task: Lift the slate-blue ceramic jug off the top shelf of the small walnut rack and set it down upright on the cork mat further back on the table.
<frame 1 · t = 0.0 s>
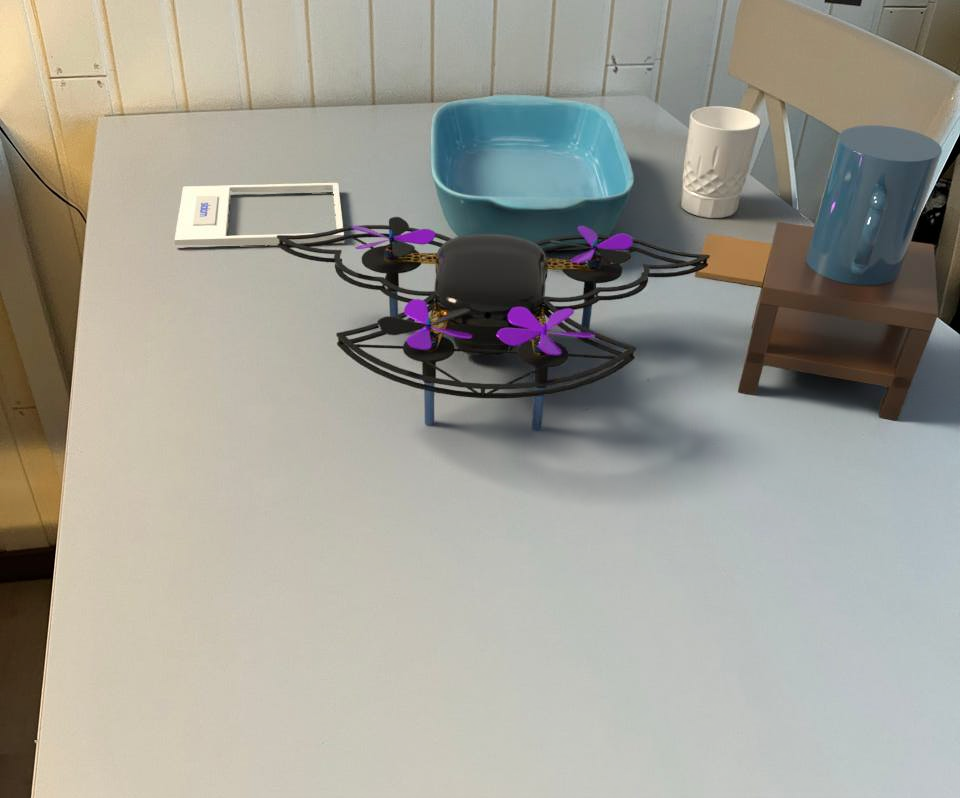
white cup: (707, 209, 119), on the table
photo frame: (262, 219, 112), on the table
cork mat: (746, 264, 108), on the table
walnut rack: (820, 367, 93), on the table
casserole dish: (524, 205, 118), on the table
drone: (485, 384, 89), on the table
jug: (852, 264, 86), point 10 cm above the table, touching walnut rack
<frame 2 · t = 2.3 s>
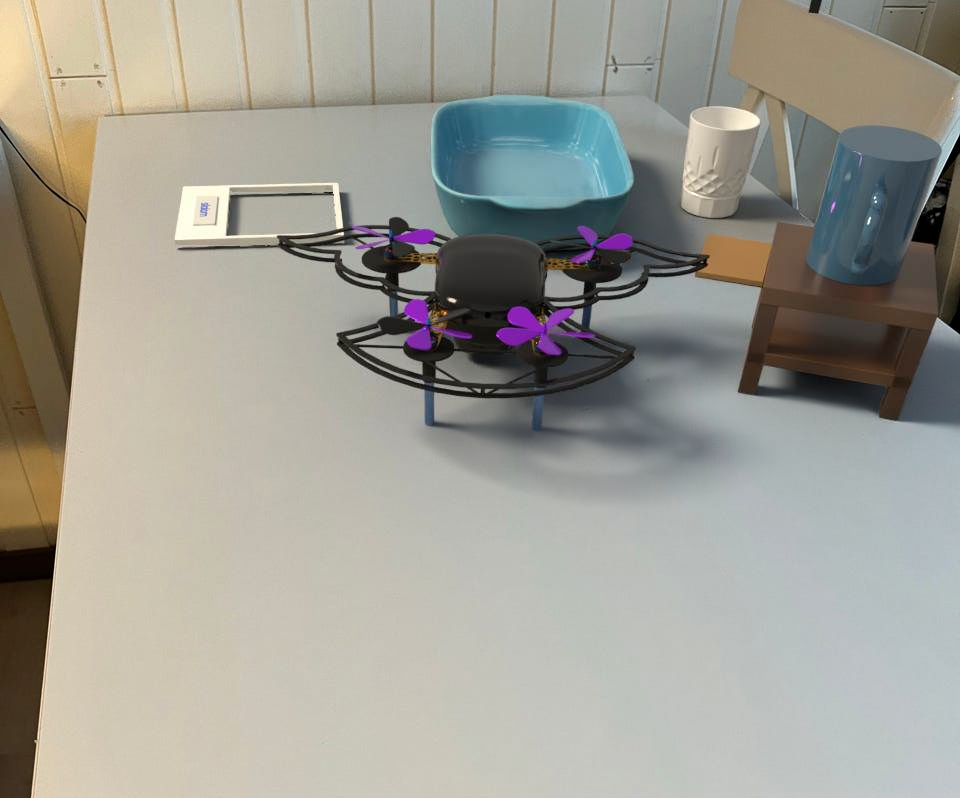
hand: (906, 19, 74), 28 cm above the table, tool pointing down, fingers open, 13 cm apart
nothing on the table moved.
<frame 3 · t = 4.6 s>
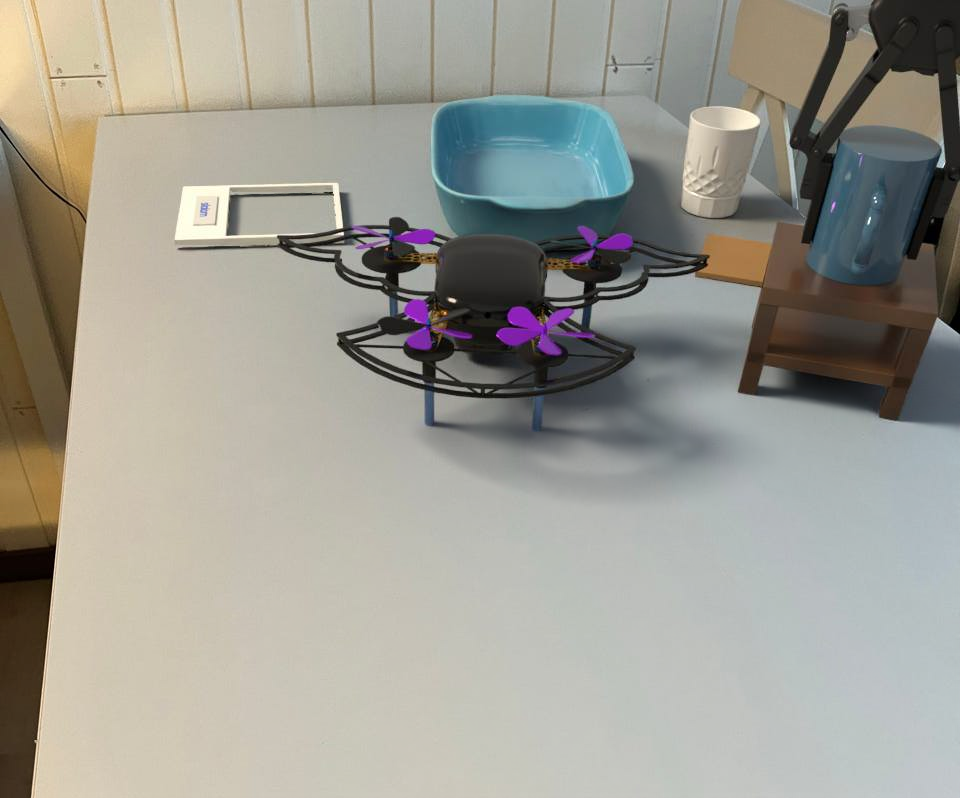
hand: (858, 244, 84), 12 cm above the table, tool pointing down, fingers closed on jug, 8 cm apart
jug: (852, 264, 86), point 10 cm above the table, touching gripper, walnut rack
everything else where it was.
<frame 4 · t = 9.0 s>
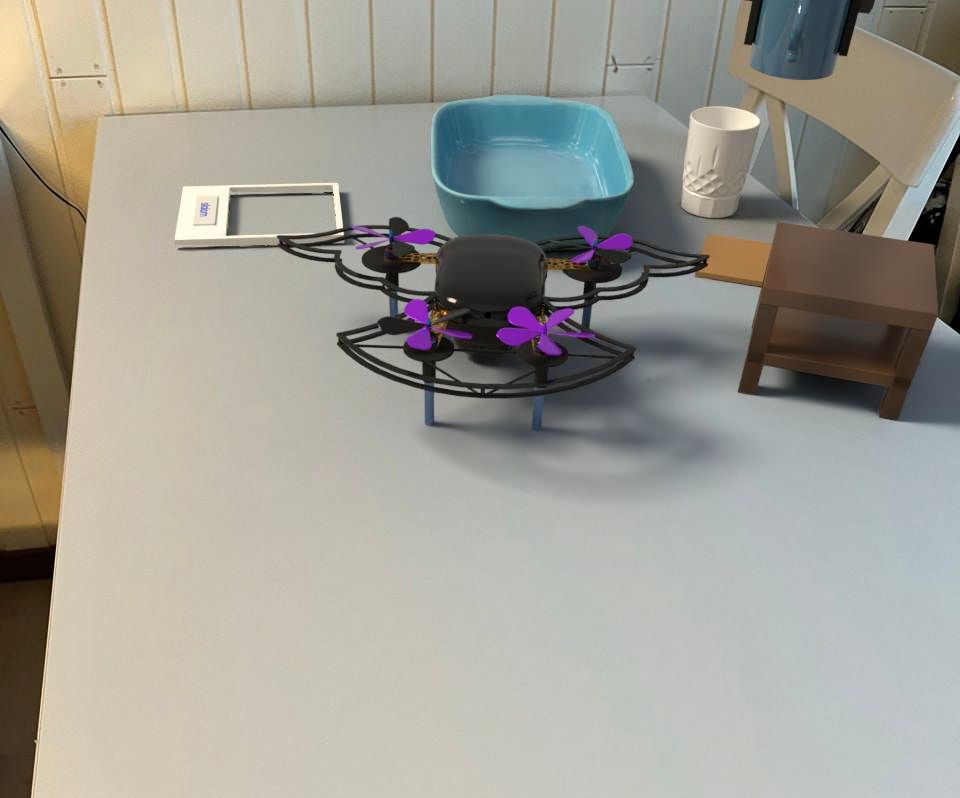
hand: (795, 46, 93), 21 cm above the table, tool pointing down, fingers closed on jug, 8 cm apart
jug: (791, 66, 94), point 19 cm above the table, touching gripper
everything else where it was.
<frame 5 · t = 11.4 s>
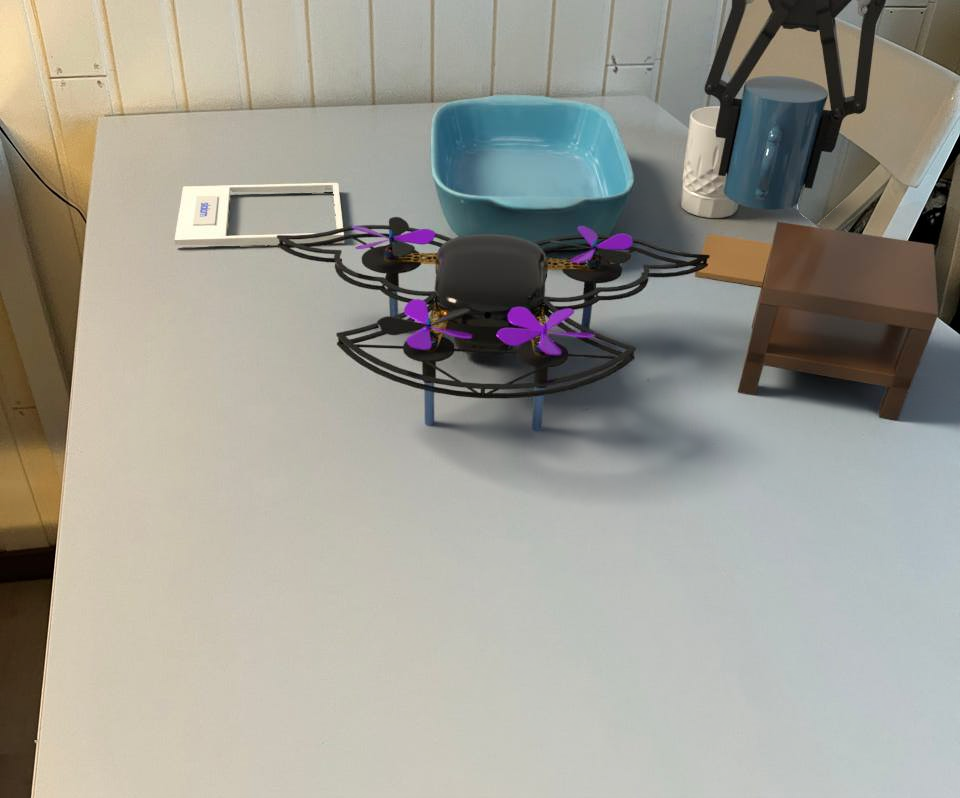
hand: (765, 176, 101), 9 cm above the table, tool pointing down, fingers closed on jug, 8 cm apart
jug: (761, 194, 103), point 7 cm above the table, touching gripper
everything else where it was.
when the fingers open (2 cm above the table, at t = 13.4 s): jug stays where it is, resting on cork mat.
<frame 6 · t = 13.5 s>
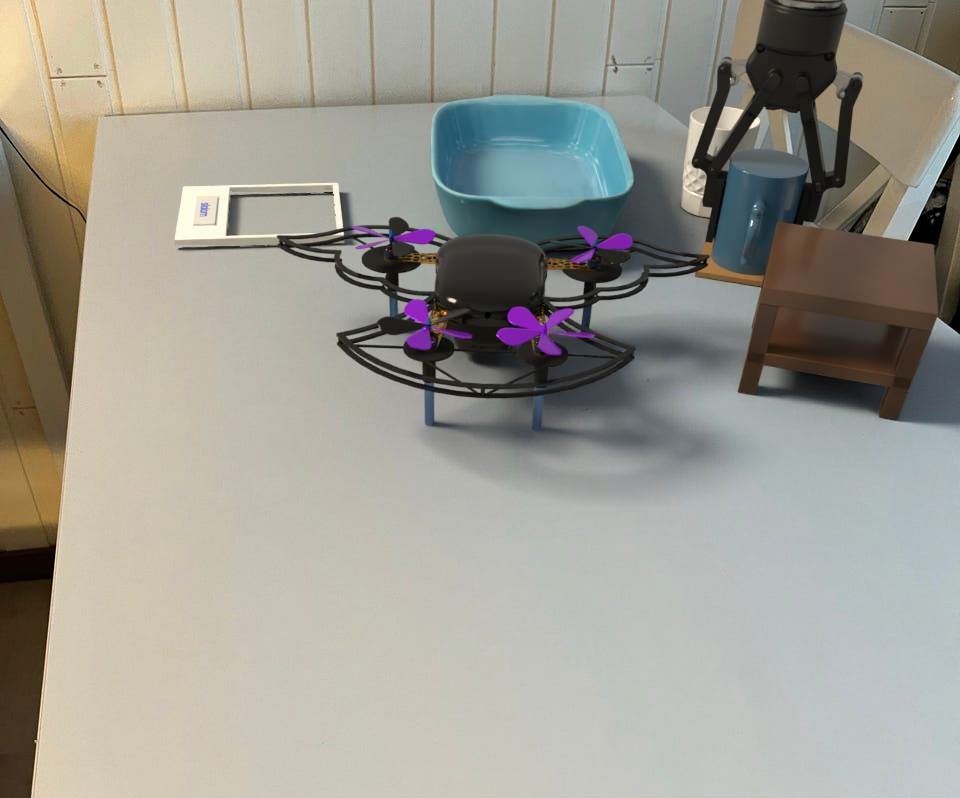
hand: (750, 243, 106), 2 cm above the table, tool pointing down, fingers open, 8 cm apart
jug: (747, 258, 108), point 1 cm above the table, touching cork mat
everything else where it was.
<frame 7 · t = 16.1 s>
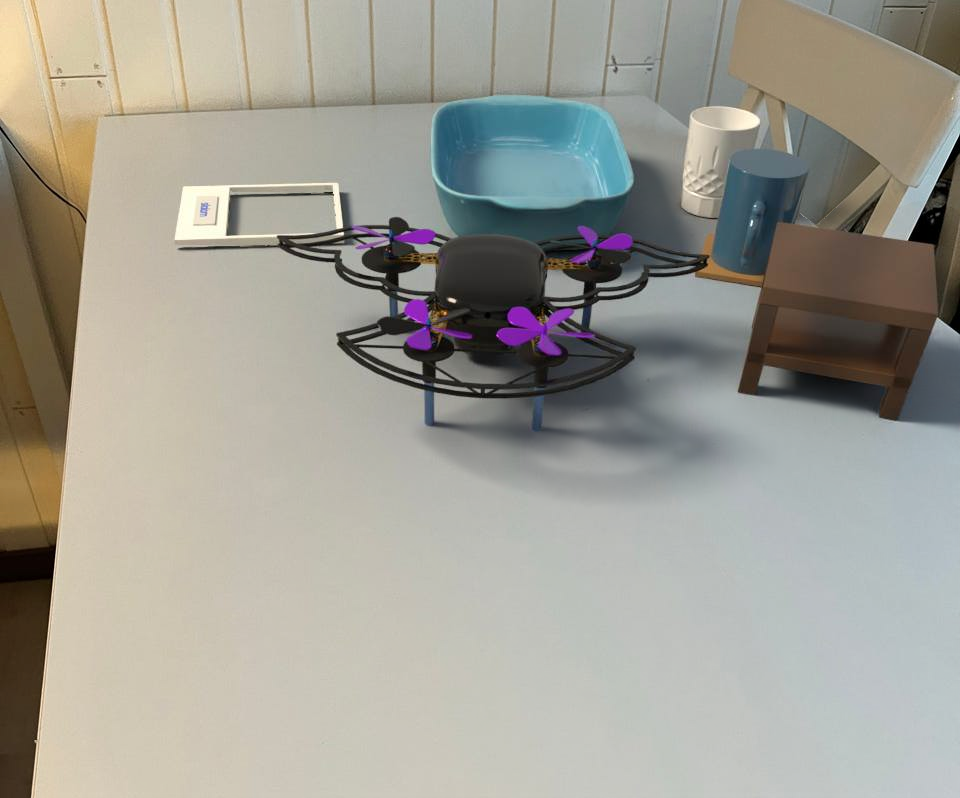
nothing on the table moved.
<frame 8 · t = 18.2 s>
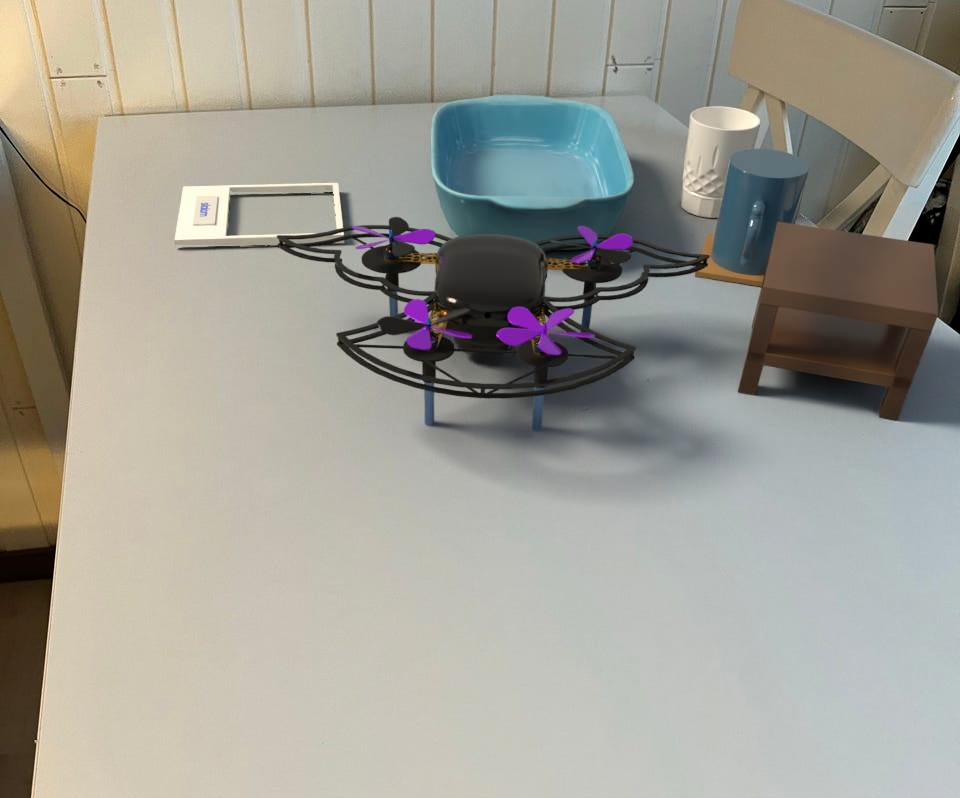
nothing on the table moved.
at the end: jug inside the target area on the cork mat (0.0 cm from its centre), point 0.6 cm above the cork mat's base; jug tilted 0°; jug touching cork mat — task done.
